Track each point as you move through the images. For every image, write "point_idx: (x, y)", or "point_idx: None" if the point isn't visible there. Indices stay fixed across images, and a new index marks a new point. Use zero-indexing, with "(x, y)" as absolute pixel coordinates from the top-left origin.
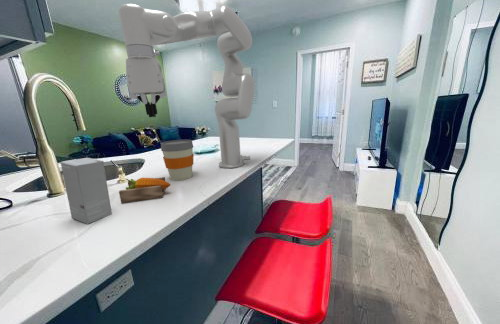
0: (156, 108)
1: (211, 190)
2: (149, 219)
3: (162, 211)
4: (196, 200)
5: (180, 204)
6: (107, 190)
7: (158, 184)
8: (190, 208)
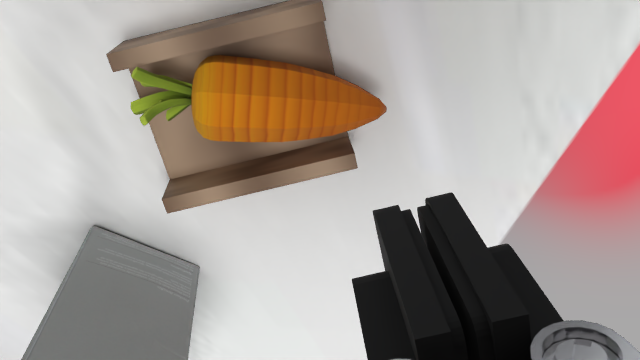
0: (540, 293)
1: (576, 81)
2: None
3: None
4: (509, 186)
5: None
6: (191, 328)
7: (331, 134)
8: None
